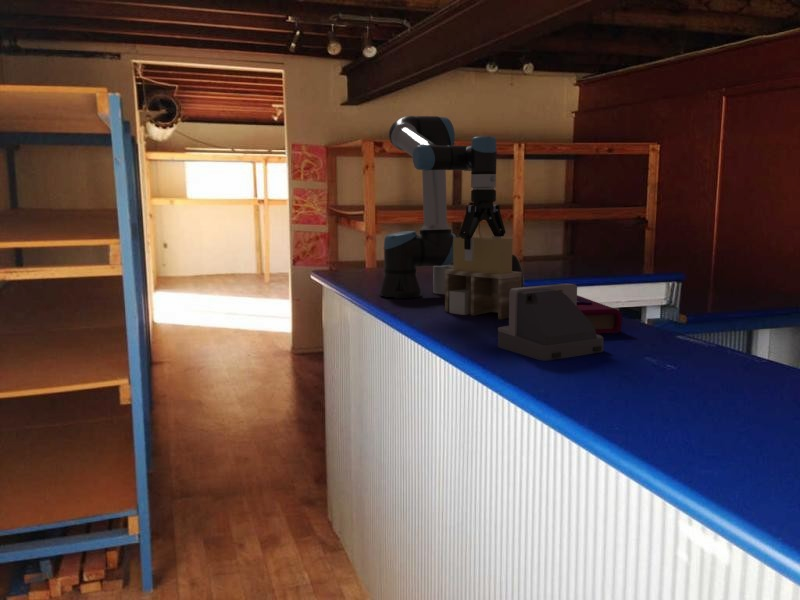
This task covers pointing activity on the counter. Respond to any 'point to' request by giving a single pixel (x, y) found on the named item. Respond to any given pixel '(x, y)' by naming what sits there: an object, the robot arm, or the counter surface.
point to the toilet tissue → (440, 278)
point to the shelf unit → (483, 290)
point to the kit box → (484, 255)
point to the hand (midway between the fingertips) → (482, 259)
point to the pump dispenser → (517, 267)
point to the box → (460, 301)
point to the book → (600, 315)
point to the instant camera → (548, 324)
